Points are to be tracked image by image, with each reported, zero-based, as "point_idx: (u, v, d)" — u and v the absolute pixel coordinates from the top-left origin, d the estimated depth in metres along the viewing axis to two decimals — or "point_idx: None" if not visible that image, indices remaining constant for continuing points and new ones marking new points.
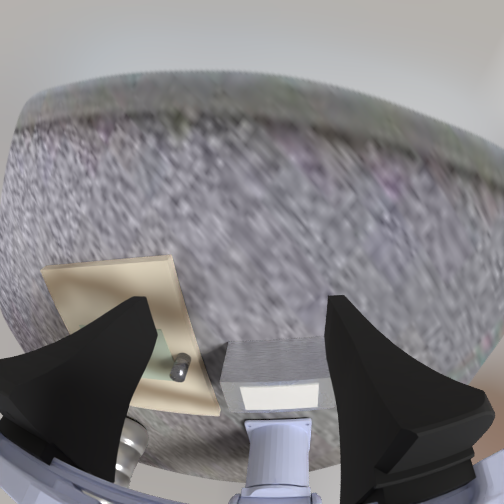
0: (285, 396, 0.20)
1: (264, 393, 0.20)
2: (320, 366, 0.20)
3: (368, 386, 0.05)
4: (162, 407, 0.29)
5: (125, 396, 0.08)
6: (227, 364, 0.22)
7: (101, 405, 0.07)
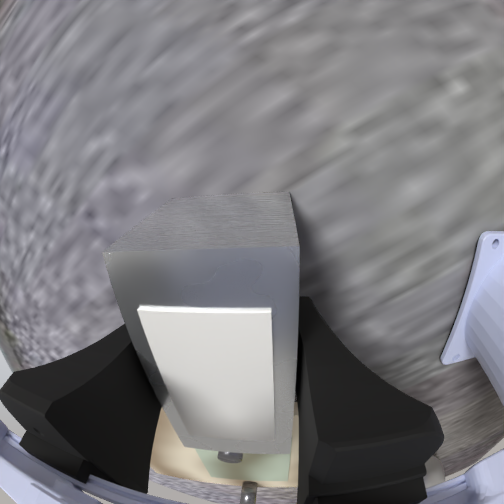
0: (206, 384, 0.07)
1: (201, 410, 0.08)
2: None
3: (308, 391, 0.05)
4: None
5: (157, 402, 0.08)
6: None
7: (136, 414, 0.07)
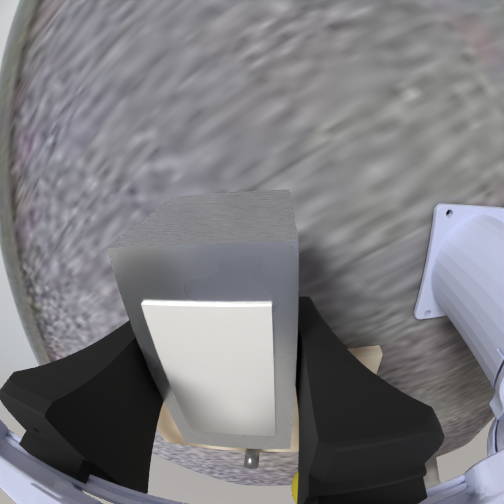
0: (208, 378, 0.07)
1: (202, 404, 0.08)
2: None
3: (308, 391, 0.05)
4: None
5: (157, 402, 0.08)
6: None
7: (136, 414, 0.07)
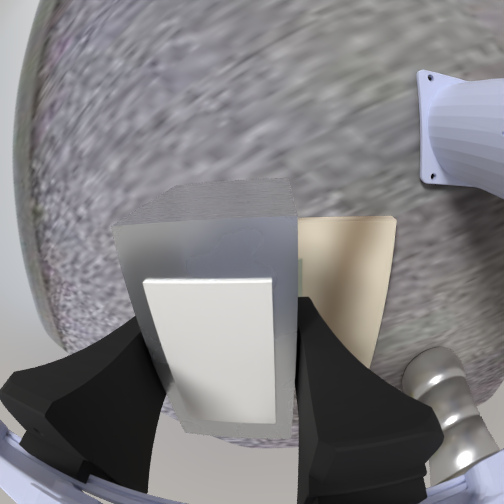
0: (208, 360, 0.08)
1: (202, 390, 0.08)
2: None
3: (308, 391, 0.05)
4: (374, 307, 0.20)
5: (157, 402, 0.08)
6: None
7: (136, 414, 0.07)
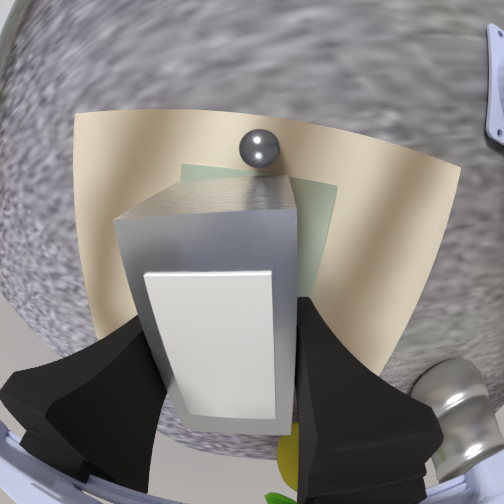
0: (208, 354, 0.08)
1: (202, 385, 0.08)
2: None
3: (308, 391, 0.05)
4: (412, 286, 0.14)
5: (157, 402, 0.08)
6: None
7: (136, 414, 0.07)
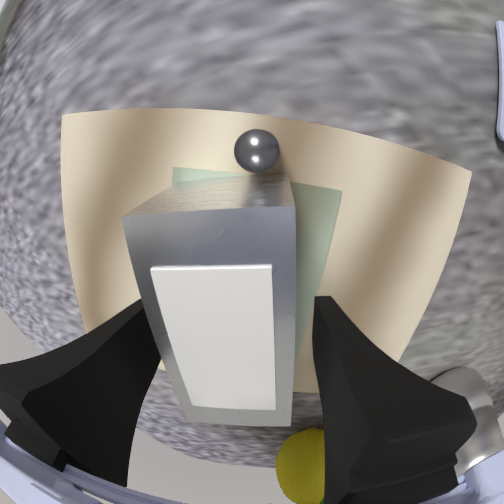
0: (211, 345, 0.08)
1: (205, 376, 0.09)
2: None
3: (346, 388, 0.05)
4: (419, 296, 0.13)
5: (137, 398, 0.08)
6: None
7: (114, 408, 0.07)
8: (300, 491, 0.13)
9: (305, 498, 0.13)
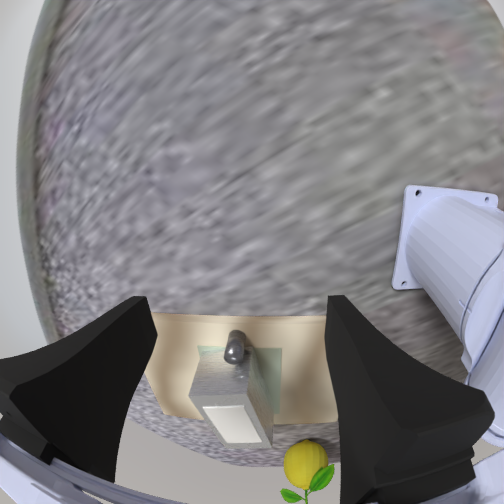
0: (229, 425, 0.19)
1: (230, 432, 0.20)
2: None
3: (368, 386, 0.05)
4: None
5: (125, 396, 0.08)
6: None
7: (101, 405, 0.07)
8: (296, 479, 0.24)
9: (300, 483, 0.24)
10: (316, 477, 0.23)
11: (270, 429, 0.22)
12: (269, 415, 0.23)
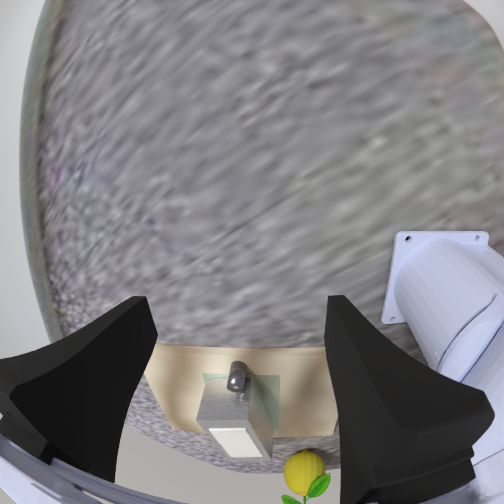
0: (233, 443, 0.21)
1: (233, 449, 0.22)
2: None
3: (368, 386, 0.05)
4: None
5: (125, 396, 0.08)
6: None
7: (101, 405, 0.07)
8: (295, 486, 0.25)
9: (299, 490, 0.25)
10: (314, 485, 0.25)
11: (270, 444, 0.23)
12: (269, 432, 0.24)
